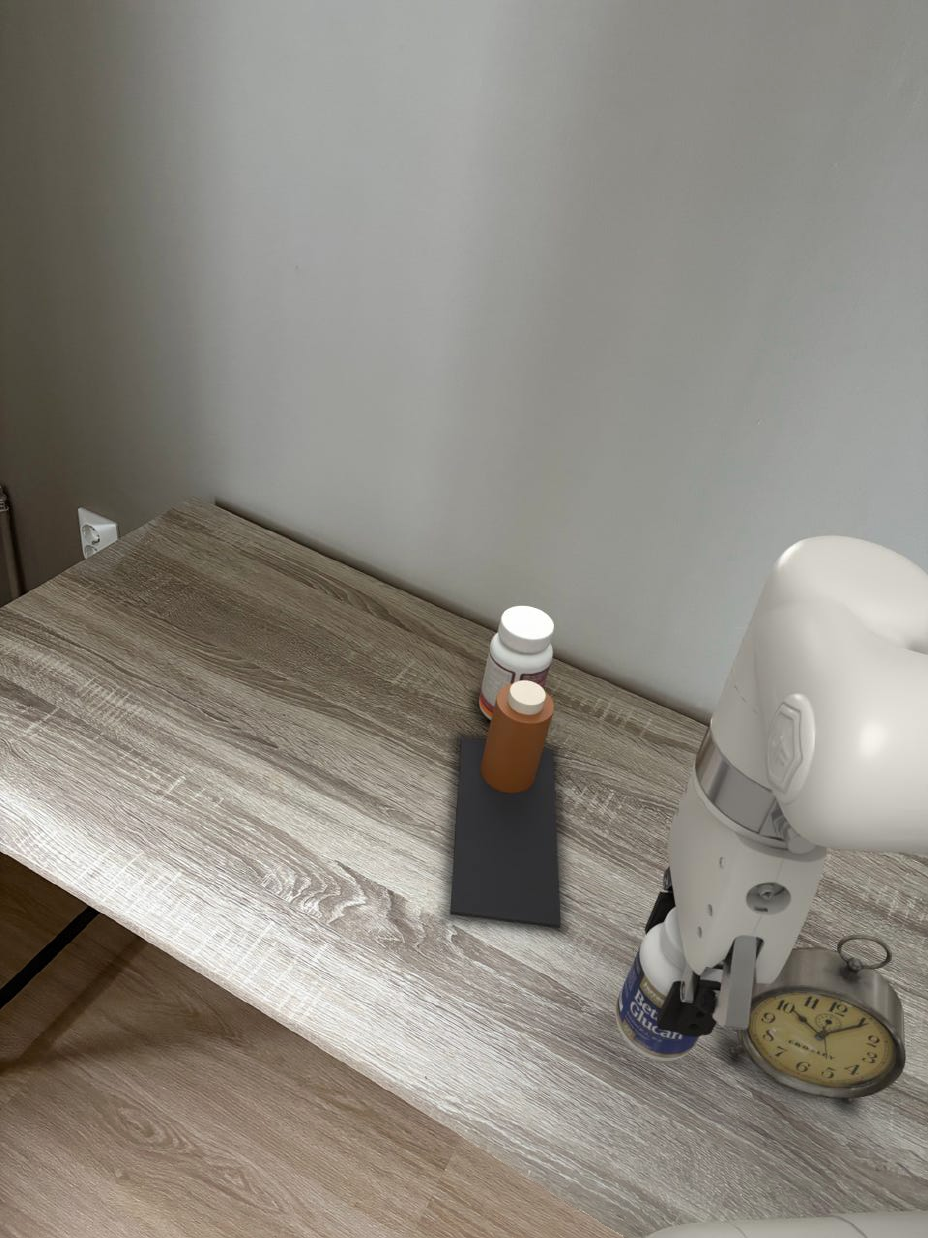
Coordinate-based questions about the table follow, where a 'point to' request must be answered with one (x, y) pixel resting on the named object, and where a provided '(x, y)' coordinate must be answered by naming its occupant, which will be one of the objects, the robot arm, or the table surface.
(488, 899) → the plate
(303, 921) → the table surface
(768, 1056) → the alarm clock
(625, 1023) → the pill bottle
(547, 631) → the pill bottle
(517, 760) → the amber bottle
